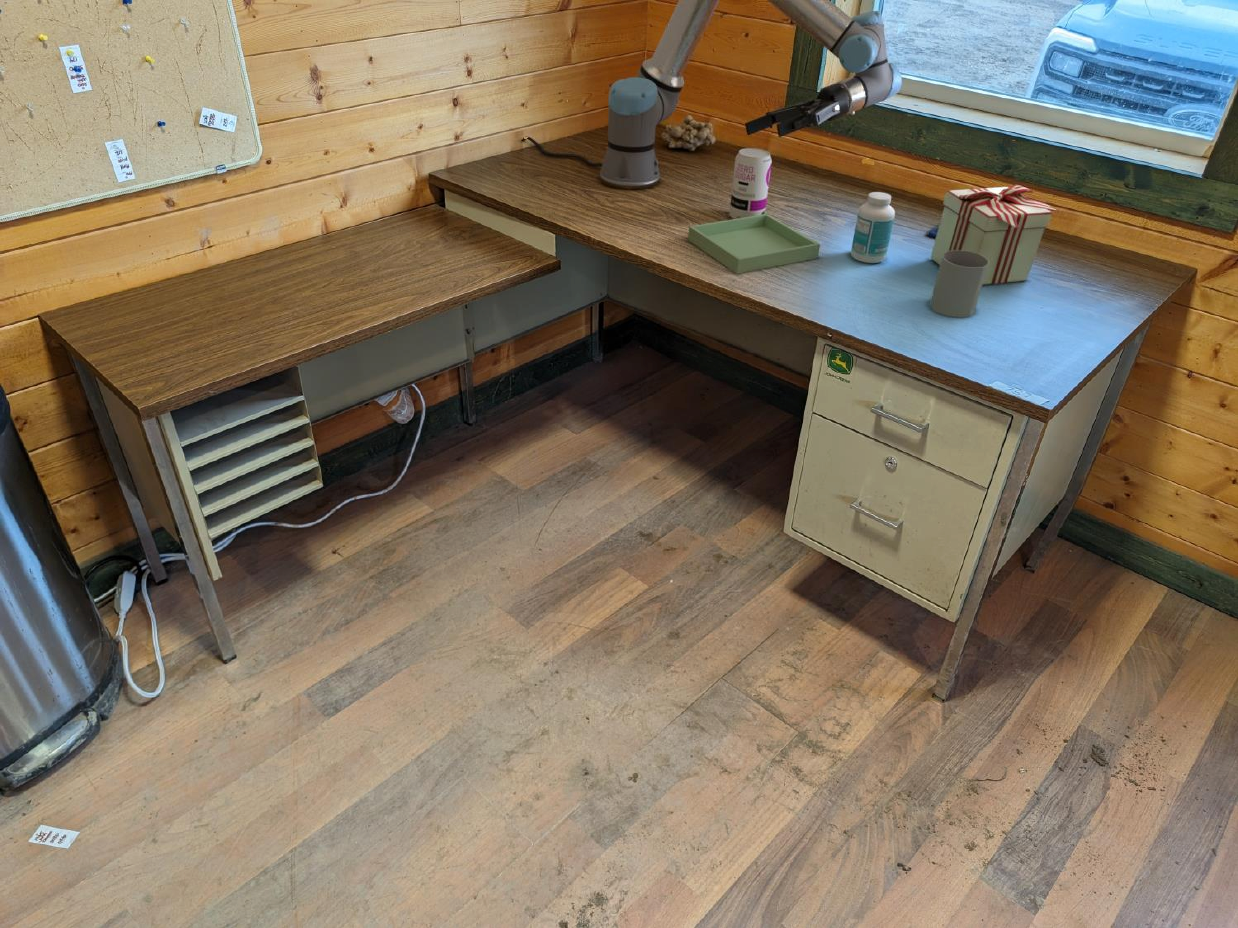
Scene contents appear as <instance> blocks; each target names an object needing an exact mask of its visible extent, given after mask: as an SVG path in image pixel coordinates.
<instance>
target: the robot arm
mask: <svg viewBox="0 0 1238 928" xmlns="http://www.w3.org/2000/svg"><path fill="white" fill-rule="evenodd" d="M767 1H768V3H770V4H771V5H772V6H773V7H775V8H776V9H777V10H779V11H780V12H781V13H782V14H784V15H785V16H786V17H787V18H788V19H789V20H791V21H792V22H793V23H795V25H797V26H798V27H799V28H801V29H802V30H803V31H804V32H805V33H807V34H808V35H809V36H810V37H812V38H813V39H814V40H816V42H817V43H819V44H821V45H822V46H823V47H824V48H825V49H826V50H827V51H829V52H830V53H832V55H834V57H836V58H837V59H838V61H839V63H840V66H841V67H842V68H843V69H844V70H845V71H846V72H849V73H851V74H852V73H853V74H855V75H853V76H849V77H847V78H844V79H841V80H839V81H837V82H835V83H832V84H830V85H829V84H828V85H826V86H824V87H822V88H821V89H819V91H818V93H817V97H816V99H815V98H813V99H808V100H803V101H800V102H799V103H796V104H792V105H788V106H786V107H782V108H777V109H774V110H771V111H766V113H765V115H763V116H761V117H757V118H754V119H752V120H750V121H747V122H745V123H744V126H745V131H746V136H750V135H753V134H755V133H758V132H761V131H763V130H766V129H773V127H774V126H773V125H775V126H776V131H777V135H778V138H781V137H784V136H787V135H789V134H792V133H795V132H797V131H799V130H803V129H805V128H806V127H808V128H809V127H811V126H813V127H817V126H819V125H821V124H822V123H824V122H825V121H828V122H833V121H835V120H837V119H840V118H843V117H845V116H848V115H849V114H850V115H851V116H854V115H855V114H856V113H855V112H857V111H860V110H862V109H865V108H867V107H870V106H872V105H875V104H878V103H881V102H884V101H886V100H888V99H890V98H892V97H894V96H896V95H897V94H898V93H899V92H900V90H901V88H902V84H903V77H902V73H901V72H900V68H899V66H897V65H896V64H895V63H892V62H889V60H888V54H887V45H886V44H887V43H886V35H885V24H884V21H883V16H882V12H881V11H879V10H872V11H867V12H864V13H861V14H858V15H855V16H852V17H851V16H849V14H847V13H846V12H844V11H843V10H842V9H841V8H840V7H839V6H837V5H836V3H834V2H832V1H831V0H767ZM719 2H720V0H678V2H677V3H676V6H675V8H674V10H673V12H672V15H671V17H670V19H669V21H668V23H667V25H666V27H665V30H664V31H663V34H662V36H661V38H660V40H659V41H658V44H657V46H656V48H655V51H654V53H653V55H652V57H651V58H648V59H646V60H644V61H643V62H642V64H641V65H640V68H639V70H638V72H637V74H636V77H626V78H621V79H619V80H617V81H614V82H613V84H612V85H610V87H609V94H608V99H607V102H608V117H607V118H608V119H607V121H608V122H607V126H608V127H607V150H606V153H605V156H604V159H603V162H602V163H601V162H592V161H590V160H588V159H587V158H586V157H585V156H582V155H579V154H574V153H554V152H549V151H547V150H545V149H544V146H542V145H541V144H540V143H539V142H537V141H536V140H535V139H534V138H533V137H531V136H527V137H528V138H527V139H528V140H527V139H524V137H523V138H521V140H520V142H525V141H530V142H531V143H532V144H533V145H535V146H536V147H537V148H539V149H540V151H541V152H542V154H544V155H546V156H550V157H556V158H557V157H558V158H575V159H578V160H582V161H583V162H584V163H586V164H587V165H589V166H592V167H600V171H599V181H600V182H601V183H602V184H604V185H606V186H607V187H610V188H615V189H620V190H631V191H632V190H635V191H636V190H645V189H649V188H653V187H655V186H658V185H659V183H660V180H661V173H660V172H661V171H660V168H659V161H658V159H657V156H656V152H655V141H656V127H657V126H658V125H660V124H661V123H662V122H664V121H666V120H667V119H669V118H670V117H671V116H672V115H673V113H674V112H675V110H676V108H677V106H678V103H679V97H680V94H681V92H682V89H683V87H684V85H685V80H684V78H683V74H684V72H685V70H686V69H687V66H688V65H689V62H690V60H691V59H692V57H693V54H694V52H695V50H696V49H697V46H698V45H699V42H700V41H701V38H702V36H703V34H704V33H705V30H706V28H707V27H708V24H709V23H710V20H711V19H712V16H713V15H714V13H715V10H716V8H717V6H718V5H719Z"/></svg>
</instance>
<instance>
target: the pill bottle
mask: <svg viewBox="0 0 1238 928" xmlns="http://www.w3.org/2000/svg"><path fill="white" fill-rule="evenodd" d="M866 200H867V202H865V203H863V204H861V205H860V206H859V208H858V211H857V215H856V216H857V217H856V222H855V227H854V232H853V238H852V243H851V249H850V256H851V257H852V258H853V259H854V260H856V261H858V262H861V263H867V264H878V263H881V262H883V261H885V259H886V257H887V253H888V250H889V244H890V240H891V235H892V229H893V226H894V225H893V224H894V220H895V215H896V211H895V209H894V207H892V206H891V205H890V204H891V202H892V195H891V194H889V193H887V192H882V191H873V192H870V193H868V194H867V199H866Z"/></svg>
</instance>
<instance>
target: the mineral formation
mask: <svg viewBox="0 0 1238 928" xmlns="http://www.w3.org/2000/svg"><path fill="white" fill-rule="evenodd" d="M665 129H666V132H662V133H661V137H662V139H663V141H664V142H665V141H666V142H668V148H669V149H680V148H683V149H686V150H688V151H690V152H694V151H696V149H697V148H698V147H700V146H701V145H706V147H708V146H709V145H713V144H715V143H716V142H717V140H716V137H715V135H714V132H713V131H714V128H713V124H712V123H711V122H702V121H696V120H695V119H694V118H693V116H692V115H690V114H689V115H685V117H684V118H683V121H682V122H681V123H680V124H677V125H675V124H673V125H671V124H666V126H665Z"/></svg>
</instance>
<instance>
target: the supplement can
mask: <svg viewBox="0 0 1238 928" xmlns="http://www.w3.org/2000/svg"><path fill="white" fill-rule="evenodd" d="M772 161H773V160H772V157H771V152H770V151H768V150H766V149H763V148H756V147H746V148H740V149H739V151H738V153H737V154H736V156H735V158H734V166H733V176H732V184H731V185H732V186H731V193H730V194H731V195H730V202H729V214H728V215H729V216H730V217H731V220H732V219H738V218H744V217H750V216H756V215H762V214H766V208H767V201H768V194H769V188H770V187H769V186H770V178H771V171H772Z"/></svg>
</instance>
